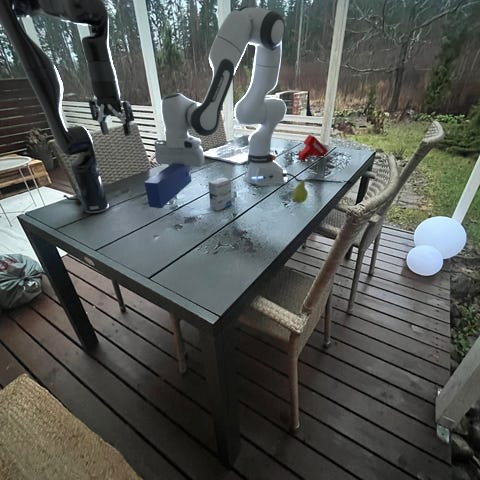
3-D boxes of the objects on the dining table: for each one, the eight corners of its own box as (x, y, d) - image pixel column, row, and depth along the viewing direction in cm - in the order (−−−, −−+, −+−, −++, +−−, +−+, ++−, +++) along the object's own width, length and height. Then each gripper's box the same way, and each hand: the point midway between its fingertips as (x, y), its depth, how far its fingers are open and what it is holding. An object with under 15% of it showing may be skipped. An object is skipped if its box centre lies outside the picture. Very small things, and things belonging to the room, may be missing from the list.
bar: (181, 180, 119) (178, 159, 114) (191, 181, 118) (189, 160, 113) (149, 207, 97) (144, 182, 92) (161, 208, 96) (157, 183, 91)
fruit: (288, 200, 123) (290, 174, 116) (302, 197, 125) (305, 172, 119) (296, 206, 118) (299, 179, 111) (310, 203, 120) (314, 177, 114)
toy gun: (299, 156, 169) (313, 135, 166) (294, 155, 172) (308, 134, 169) (314, 170, 180) (328, 150, 177) (310, 169, 183) (323, 149, 180)
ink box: (224, 201, 122) (223, 176, 116) (231, 205, 119) (231, 179, 113) (209, 207, 117) (207, 181, 111) (217, 211, 114) (215, 184, 108)
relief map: (240, 164, 168) (240, 156, 165) (199, 155, 186) (198, 147, 183) (263, 154, 186) (264, 146, 184) (224, 147, 204) (224, 140, 201)
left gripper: (75, 79, 81) (91, 136, 90) (115, 79, 78) (128, 138, 87) (92, 78, 87) (106, 131, 96) (131, 78, 84) (141, 133, 93)
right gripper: (149, 141, 105) (155, 175, 113) (198, 144, 101) (201, 179, 108) (157, 137, 110) (162, 171, 118) (204, 140, 106) (207, 174, 113)
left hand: (117, 134), depth 92 cm, fingers open, 8 cm apart
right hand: (181, 175), depth 113 cm, fingers closed on bar, 5 cm apart
